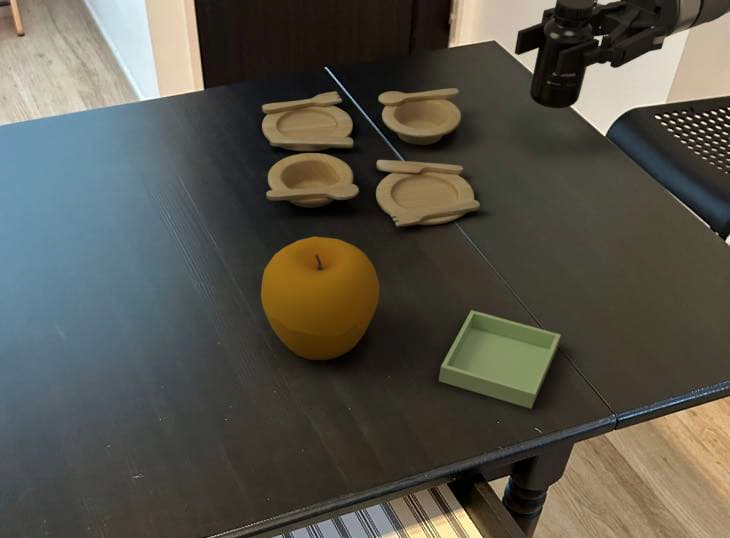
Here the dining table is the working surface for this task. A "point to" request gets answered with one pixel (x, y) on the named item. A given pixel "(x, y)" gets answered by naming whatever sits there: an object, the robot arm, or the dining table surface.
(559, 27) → the supplement bottle
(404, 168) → the tableware set
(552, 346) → the tray
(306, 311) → the apple
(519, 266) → the dining table surface
